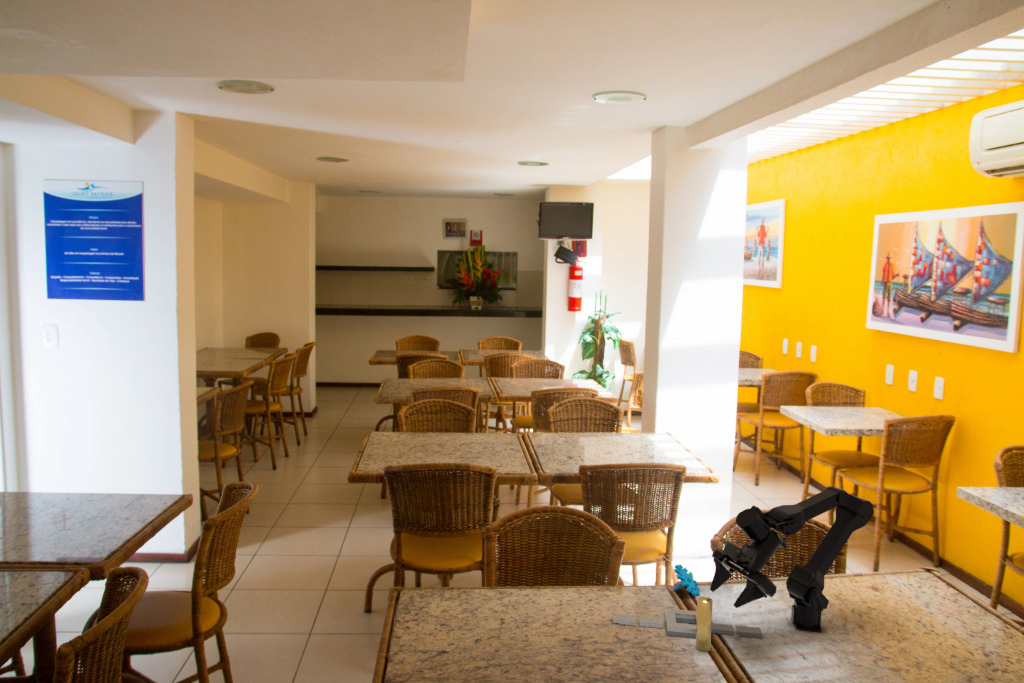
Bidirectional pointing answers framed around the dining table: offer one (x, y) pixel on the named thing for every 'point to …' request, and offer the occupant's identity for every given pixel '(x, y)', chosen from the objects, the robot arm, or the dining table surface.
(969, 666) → the dining table surface
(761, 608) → the dining table surface
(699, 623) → the pin
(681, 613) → the square frame with tiles
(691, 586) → the gear
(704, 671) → the dining table surface
